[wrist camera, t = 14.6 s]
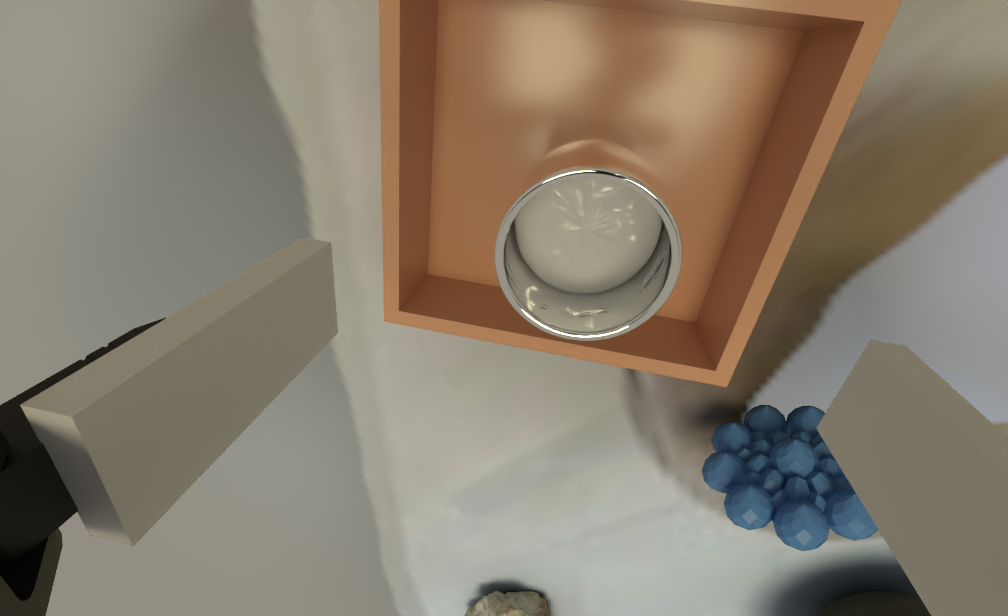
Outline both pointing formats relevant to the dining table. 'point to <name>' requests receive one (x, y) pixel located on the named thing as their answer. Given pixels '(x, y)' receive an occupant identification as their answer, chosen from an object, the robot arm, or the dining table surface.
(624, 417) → the dining table surface
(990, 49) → the dining table surface
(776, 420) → the grapes
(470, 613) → the seashell
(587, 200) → the beer glass
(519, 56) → the open box
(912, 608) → the coal bowl
